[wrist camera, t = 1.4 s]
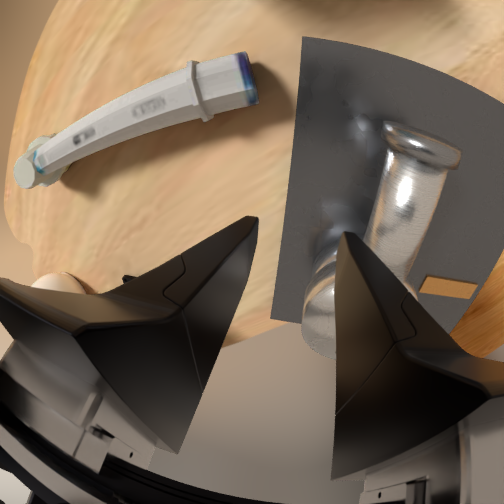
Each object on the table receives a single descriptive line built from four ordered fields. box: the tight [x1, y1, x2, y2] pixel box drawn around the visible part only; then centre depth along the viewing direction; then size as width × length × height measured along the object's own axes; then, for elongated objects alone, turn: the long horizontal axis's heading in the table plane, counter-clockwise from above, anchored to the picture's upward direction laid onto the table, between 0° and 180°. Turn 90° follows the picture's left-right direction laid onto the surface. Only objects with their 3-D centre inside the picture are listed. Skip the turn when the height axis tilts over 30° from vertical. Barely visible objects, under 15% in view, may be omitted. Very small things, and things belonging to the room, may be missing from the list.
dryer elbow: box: [301, 121, 463, 360], centre depth 17 cm, size 18×9×5 cm, turn 177°
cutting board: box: [270, 36, 504, 334], centre depth 19 cm, size 26×22×4 cm
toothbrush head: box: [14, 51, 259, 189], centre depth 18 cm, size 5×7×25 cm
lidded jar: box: [30, 272, 86, 294], centre depth 33 cm, size 11×11×9 cm
